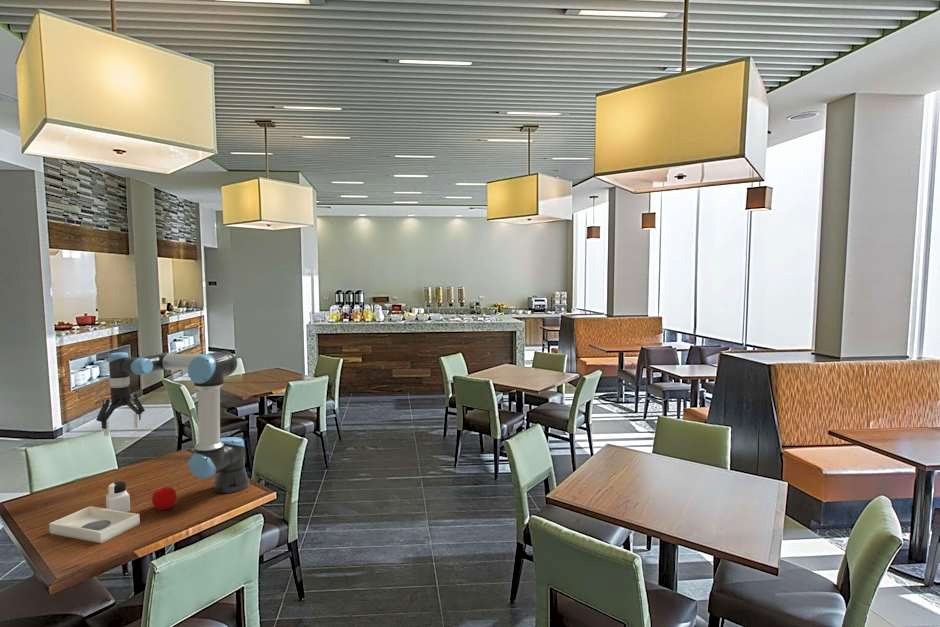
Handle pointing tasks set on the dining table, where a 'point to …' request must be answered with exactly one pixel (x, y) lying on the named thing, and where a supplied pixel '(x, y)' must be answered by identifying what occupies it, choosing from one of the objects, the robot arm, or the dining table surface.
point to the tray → (94, 524)
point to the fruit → (164, 498)
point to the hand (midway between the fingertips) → (122, 431)
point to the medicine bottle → (118, 497)
